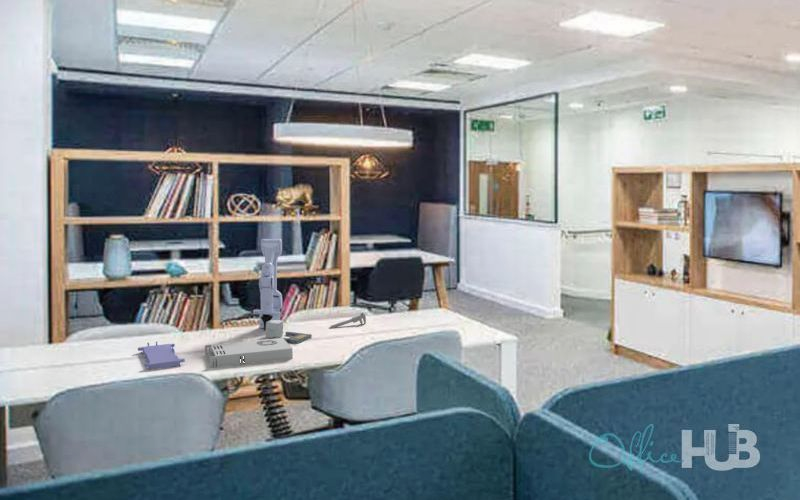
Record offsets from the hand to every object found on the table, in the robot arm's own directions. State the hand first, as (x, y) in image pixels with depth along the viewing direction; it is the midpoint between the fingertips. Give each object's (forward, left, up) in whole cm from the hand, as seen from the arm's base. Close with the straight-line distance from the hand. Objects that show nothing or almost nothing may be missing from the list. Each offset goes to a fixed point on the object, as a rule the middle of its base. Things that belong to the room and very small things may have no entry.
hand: (267, 330), depth 302 cm
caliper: (+24, +34, -3) cm, 42 cm away
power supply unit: (+14, -32, -4) cm, 35 cm away
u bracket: (+14, 0, -3) cm, 14 cm away
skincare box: (+4, 0, -3) cm, 5 cm away
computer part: (-18, -49, -3) cm, 52 cm away
